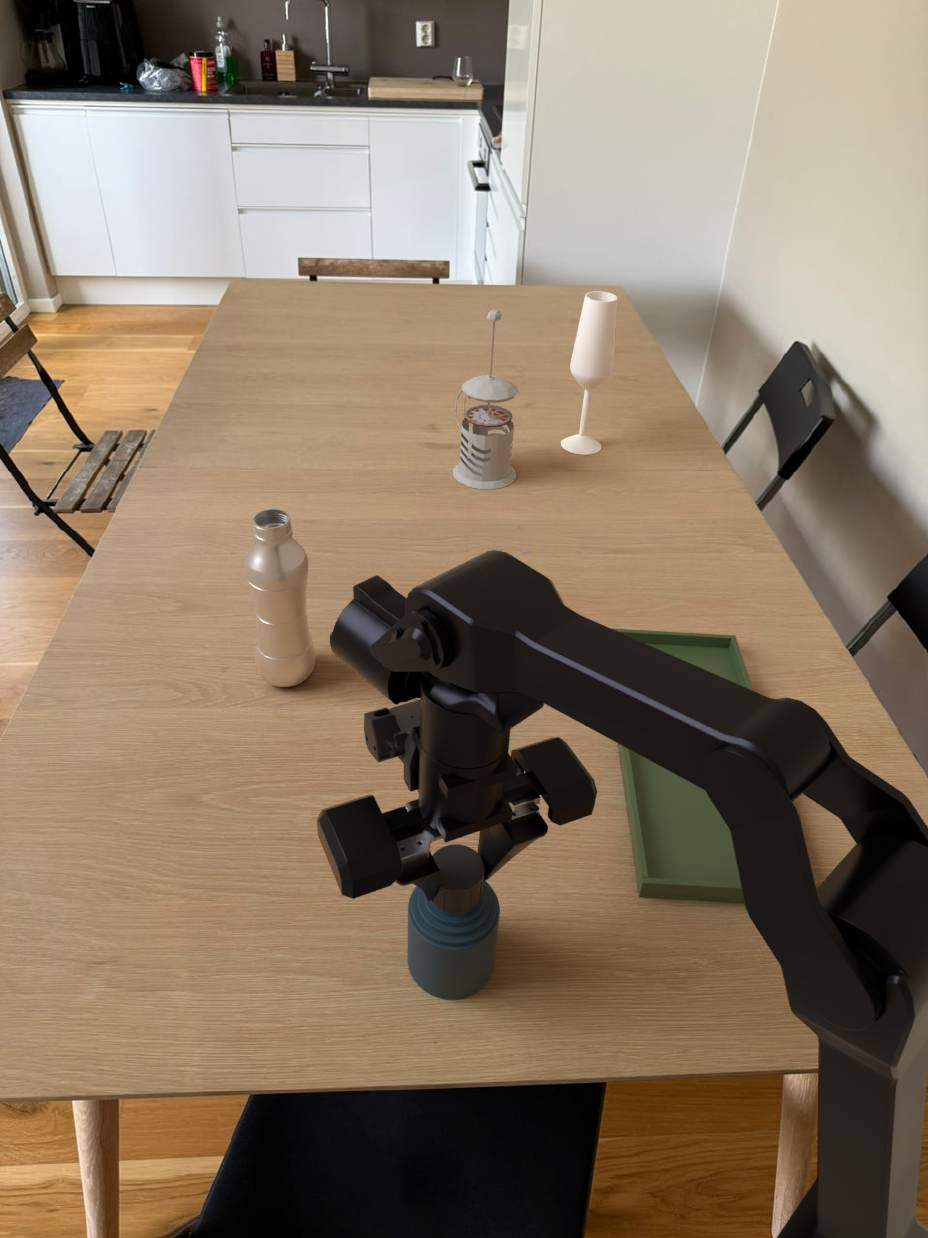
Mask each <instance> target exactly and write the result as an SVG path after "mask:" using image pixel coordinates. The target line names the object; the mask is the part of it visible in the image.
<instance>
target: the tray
mask: <svg viewBox="0 0 928 1238" xmlns="http://www.w3.org/2000/svg"><path fill="white" fill-rule="evenodd" d="M610 628H611V627H610ZM611 629H613V630H615V631H618V632H620V633H622V634H625V635H627V636H629V637H631V638H634V639H636V640H638V641H641V642H643V643H645V644H647V645H650V646H652V647H654V648H657V649H659V650H661V651H663V652H666V653H668V654H670V655H673V656H675V657H677V658H679V659H682V660H684V661H686V662H689V663H691V664H693V665H695V666H698V667H700V668H702V669H705V670H707V671H709V672H711V673H714V674H716V675H718V676H721V677H723V678H725V679H727V680H730V681H732V682H734V683H737V684H739V685H741V686H743V687H746V688H748V689H750V690H753V691H754V688H753V684H752V682H751V679H750V676H749V672H748V670H747V667H746V663H745V661H744V657H743V654H742V652H741V648H740V646H739V643H738V642H739V641H738V639H737V636H736V635H733V634H718V633H716V634H715V633H701V632H700V633H699V632H681V631H680V632H679V631H665V630H664V631H663V630H646V629H630V628H628V629H627V628H611ZM617 750H618V757H619V765H620V771H621V778H622V786H623V792H624V793H623V794H624V799H625V807H626V814H627V823H628V827H629V837H630V842H631V843H630V845H631V850H632V856H633V857H632V858H633V864H634V871H635V879H636V885H637V893H638V897H639V898H641V897H642V898H656V899H657V898H658V899H673V900H675V899H676V900H691V901H692V900H693V901H708V902H709V901H711V902H727V903H729V902H730V903H744V904H745V902H744V897H743V892H742V887H741V882H740V877H739V872H738V867H737V862H736V857H735V852H734V847H733V842H732V837H731V832H730V829H729V827H728V826H727V824H726V823H725V821H724V820H723V818H722V817H721V815H720V814H719V812H718V810H717V809H716V807H715V806H714V804H713V803H712V801H711V800H710V798H709V796H708V795H707V793H706V791H705V790H704V789H702V788H700V787H698V786H696V785H694V784H692V783H691V782H689V781H687V780H685V779H683V778H681V777H680V776H678V775H676V774H674V773H672V772H670V771H668V770H667V769H665V768H663V767H661V766H659V765H657V764H655V763H654V762H652V761H650V760H648V759H646V758H644V757H642V756H641V755H639V754H637V753H635V752H633V751H631V750H629V749H628V748H626V747H624V746H622V745H620V744H618V743H617ZM812 873H813V877H814V881H815V886H816V889H817V888H818V886H819V885H818V883H817V881H816V877H815V874H814V871H813V870H812Z"/></svg>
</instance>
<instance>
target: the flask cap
mask: <svg viewBox="0 0 928 1238" xmlns="http://www.w3.org/2000/svg"><path fill="white" fill-rule="evenodd" d="M432 856H433V858H434V860H435V862H436V864H437V866H438V868H439V870H440V874H439V880H438V887H437V893H436V895H435V897H434V899H433V900H431V902H432V903H433V904H434V905H435V906H436V907H438V908H439V909H441V910H443V911H445V912H448V913H463V912H466V911H469V910H471V909H472V908H474V907H475V906H476V905H477V904H478V902H479V901H480V900H481V896H482V890H483V884H484V873H485V870H484V863H483V860H482V858H481V857H480V855H479V854H478V853H477V851H476V850H475V849H473V848H471V847H469V846H467V845H464V844H458V843H457V844H448V845H445V846H442V847H440V848H438V849H437V850H436V851H435V852H434V853H433V854H432Z"/></svg>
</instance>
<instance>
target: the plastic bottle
mask: <svg viewBox="0 0 928 1238" xmlns="http://www.w3.org/2000/svg"><path fill="white" fill-rule="evenodd" d="M252 527H253V529H252V535H253V539H254V541H253V543H252V544H251V546H250V548H249V549H248V551H247V553H246V555H245V557H244V563H243V569H244V574H245V578H246V581H247V584H248V588H249V591H250V594H251V597H252V598H251V599H252V603H253V609H254V614H255V619H256V621H255V622H256V643H255V648H254V649H255V650H254V652H255V653H254V662H255V667H256V669H257V672H258V674H259V676H260V677H261V678H262V679H263V680H264V681H265V682H267V684H270V685H271V686H275V687H279V688H289V687H294V686H296V685H300V684H301V683H303V682H305V681H306V680H307V678H308V677H310V675H311V674H312V673H313V671H314V669H315V665H316V664H315V663H316V657H317V656H316V654H317V653H316V649H315V644H314V640H313V637H312V635H311V631H310V625H309V620H308V614H307V612H308V611H307V587H308V575H309V558H308V555H307V553H306V550H305V549H304V547H303V546H302V545H301V544H300V543H299V542H298V541H297V540H296V539H295V538H294V537H293V534H294V531H293V530H294V529H293V526H292V521H291V515H290V513H288V511H287V510H284V509H280V508H267V509H263V510H260V511H258V512H256V513H255V514H254V515H253V517H252Z"/></svg>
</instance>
